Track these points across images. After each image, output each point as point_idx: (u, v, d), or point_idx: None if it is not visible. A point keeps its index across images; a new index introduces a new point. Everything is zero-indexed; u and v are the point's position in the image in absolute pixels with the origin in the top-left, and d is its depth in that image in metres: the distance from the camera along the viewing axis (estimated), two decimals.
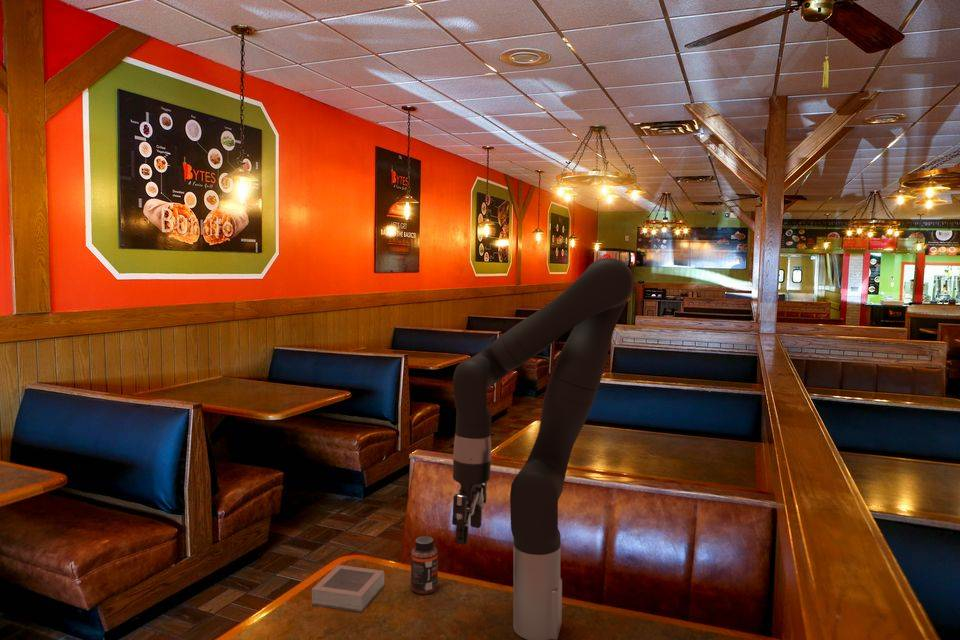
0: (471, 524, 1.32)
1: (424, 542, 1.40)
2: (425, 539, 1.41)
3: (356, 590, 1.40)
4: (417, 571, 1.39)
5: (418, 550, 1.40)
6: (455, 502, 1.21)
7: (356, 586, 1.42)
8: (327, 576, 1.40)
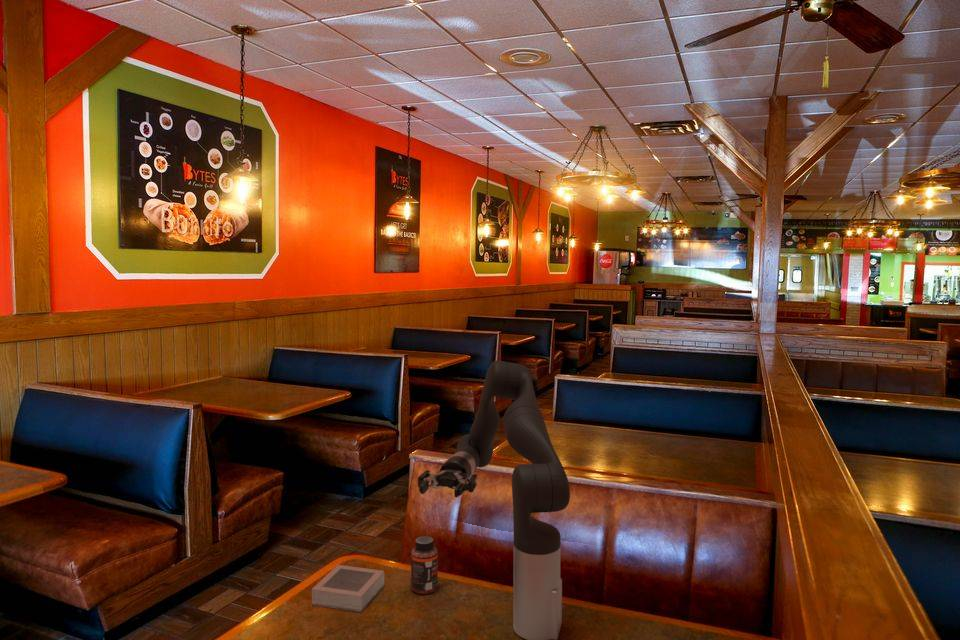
0: None
1: (424, 542, 1.40)
2: (425, 539, 1.41)
3: (356, 590, 1.40)
4: (417, 571, 1.39)
5: (418, 550, 1.40)
6: None
7: (356, 586, 1.42)
8: (327, 576, 1.40)
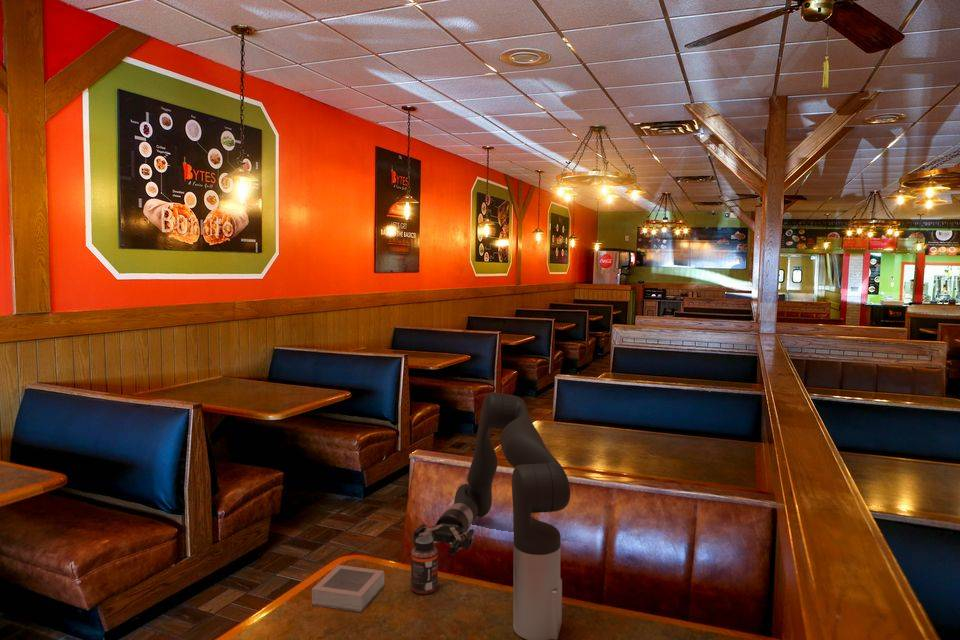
0: None
1: (424, 542, 1.40)
2: (425, 539, 1.41)
3: (356, 590, 1.40)
4: (417, 571, 1.39)
5: (418, 550, 1.40)
6: None
7: (356, 586, 1.42)
8: (327, 576, 1.40)
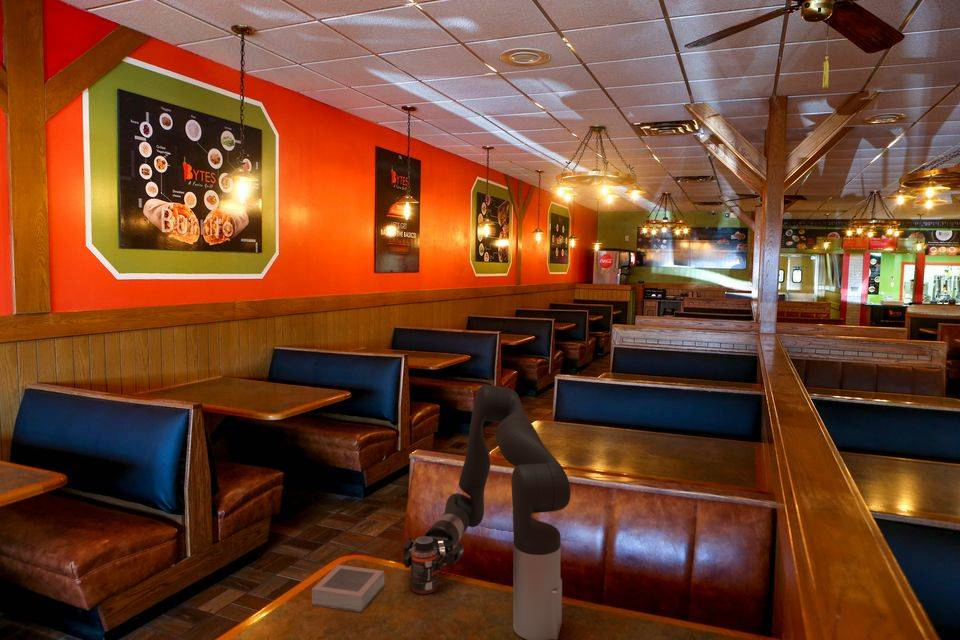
0: None
1: (424, 542, 1.40)
2: (425, 539, 1.41)
3: (356, 590, 1.40)
4: (417, 571, 1.39)
5: (417, 550, 1.40)
6: None
7: (356, 586, 1.42)
8: (327, 576, 1.40)
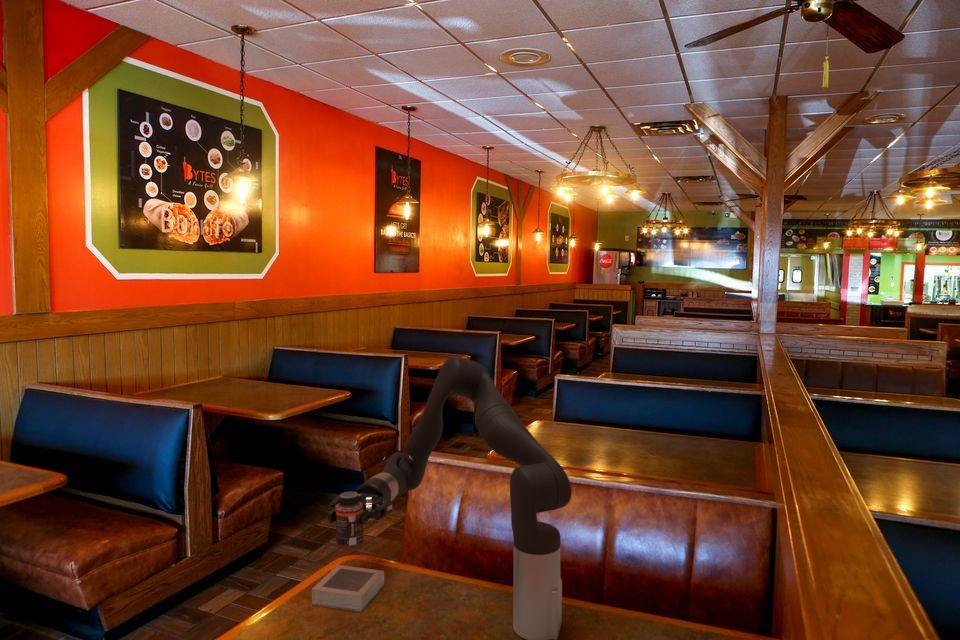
0: None
1: (348, 496, 1.37)
2: (350, 494, 1.38)
3: (356, 590, 1.40)
4: (340, 526, 1.36)
5: (341, 504, 1.36)
6: None
7: (356, 586, 1.42)
8: (327, 576, 1.40)
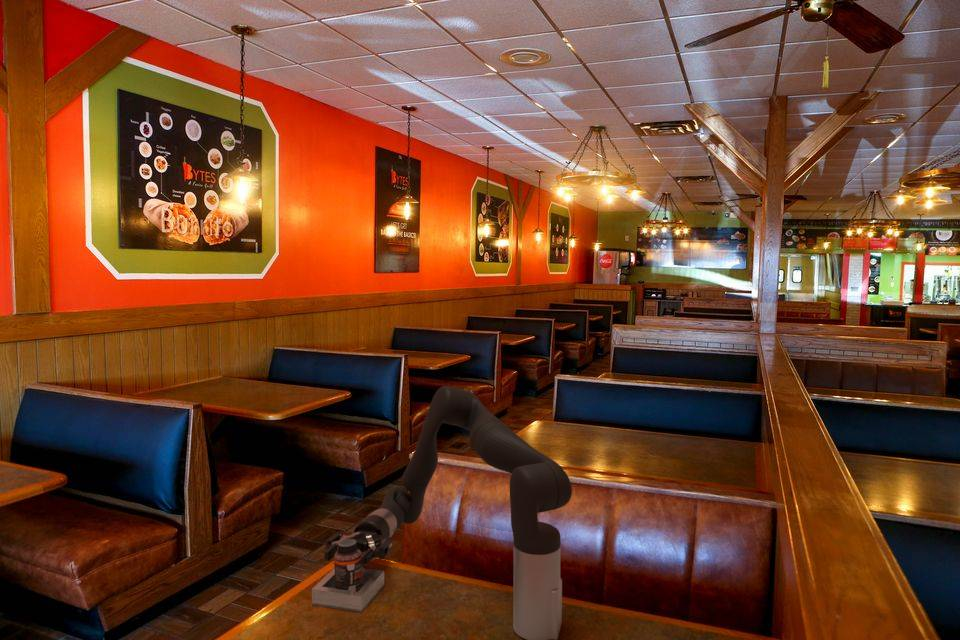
0: None
1: (346, 545, 1.37)
2: (348, 542, 1.38)
3: None
4: (339, 575, 1.36)
5: (340, 553, 1.37)
6: None
7: None
8: (327, 576, 1.40)
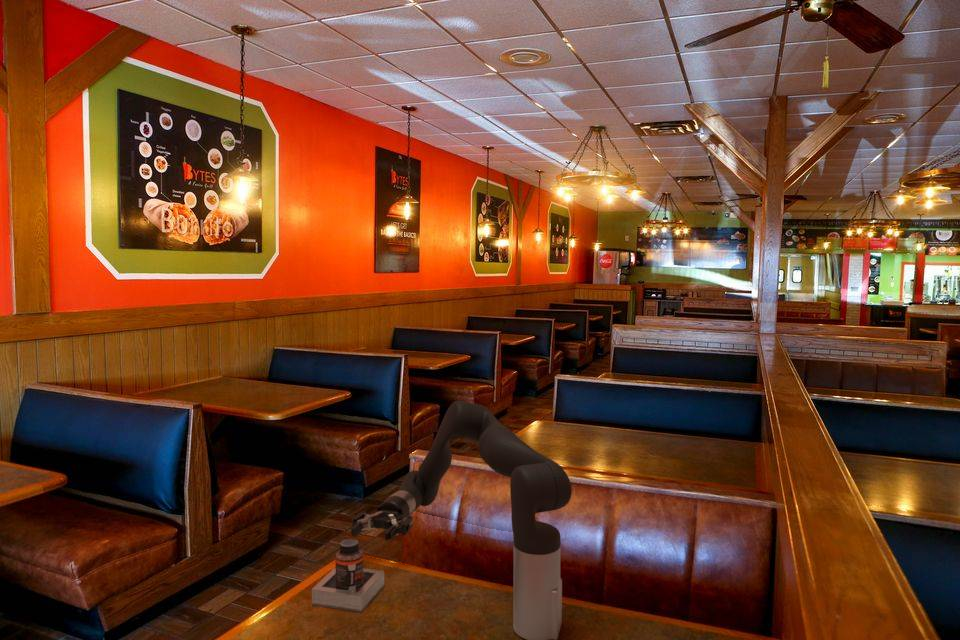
0: None
1: (348, 545, 1.37)
2: (350, 542, 1.39)
3: None
4: (340, 575, 1.36)
5: (341, 553, 1.37)
6: None
7: None
8: (327, 576, 1.40)
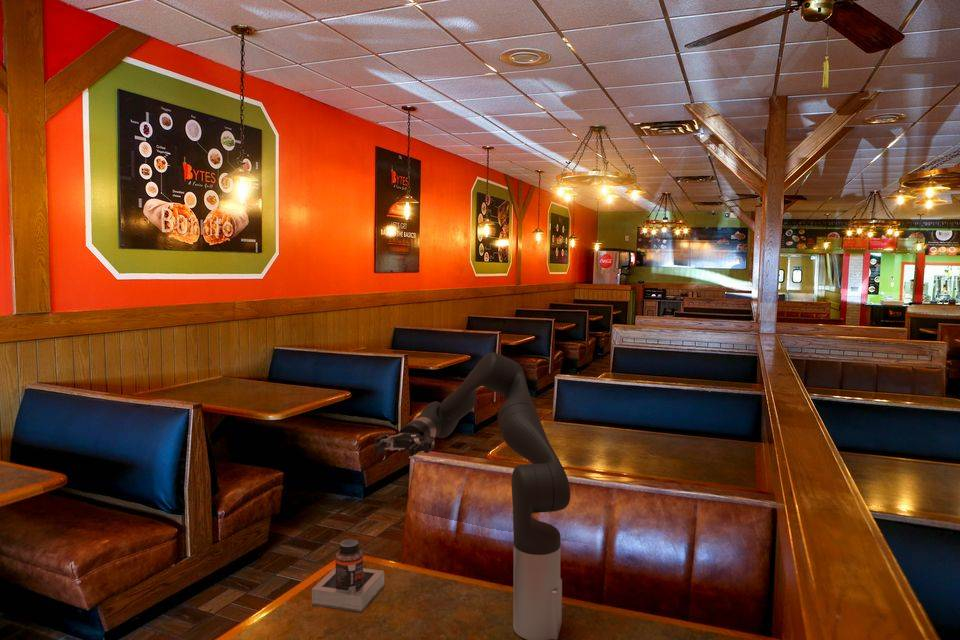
0: None
1: (348, 545, 1.37)
2: (350, 542, 1.38)
3: None
4: (340, 575, 1.36)
5: (341, 553, 1.37)
6: None
7: None
8: (327, 576, 1.40)
